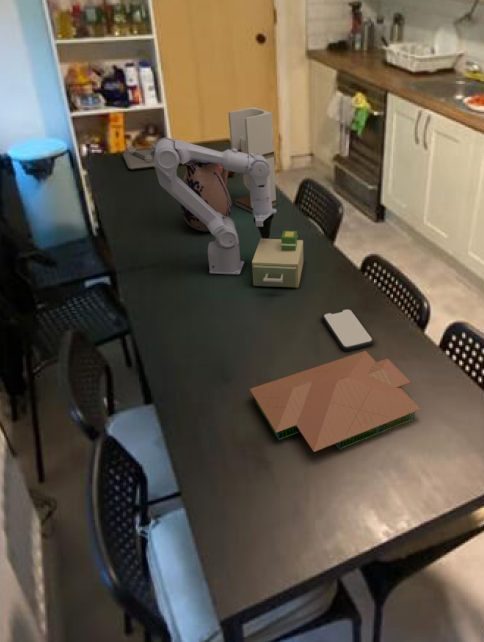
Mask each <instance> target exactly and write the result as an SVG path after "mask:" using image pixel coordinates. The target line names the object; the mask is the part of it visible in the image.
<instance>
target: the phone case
mask: <svg viewBox="0 0 484 642" xmlns="http://www.w3.org/2000/svg"><path fill="white" fill-rule="evenodd" d="M322 321H323V322H324V324H325V326H326V327H327V328H328V330H329V332H330V333H331V335H332V336H333V337H334V339H335V341H336V342H337V344H338V345H339V347H340V348H341V350H342V351H344V352H351V351H355V350H359V349H364V348H367V347H371V346H373V344H374V338H373V336H371V334H370V333H369V331H368V330H367V329H366V327H365V326H364V325H363V323H362V322H361V321H360V320H359V318H358V317H357V315H356V314H355V313H354V312H353V310H352V309H351V308H350V309H349V308H344V309H340V310H336V311H330V312H325V313H323V315H322Z"/></svg>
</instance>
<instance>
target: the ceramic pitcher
mask: <svg viewBox="0 0 484 642" xmlns="http://www.w3.org/2000/svg"><path fill="white" fill-rule="evenodd" d="M185 166H186V169H185V172H184V177H183V179H182V181H183V182H184V183H185V184H186V185H187V186H188V187H190V188H191V189H192V190H193V191H194V192H195V193H196V194H197V195H198V196H199V197H201V198H202V199H203V200H204V201H205V202H206V203H207V204H208V205H209V206H210V207H211V208H213V209H214V210H215V211H216V212H219V213H221V214H222V215H223V216H225V217H229V218H231V214H232V211H233V205H232V199H231V196H230V193H229V190H228V188H227V184H228V170H224V168H223V171H222V176H221V174H220V172H219V169H218V164H216V163H210V162H205V161H199V160H193V159H192V160H190V161H188V162H187V163H186V164H185ZM179 204H180V211H181V215H182V216H183V219H184V221H185V222H186V223H187V224H188V225H189V226H190V227H191V228H193V229H195V230H197V231H200V232H210V230H209V229H208V227H207V226H206V225H205V224H204V223H203V222H201V221H200V220H199V219H198V218H197V217H196V216H195V215H194V214H192V213H191V212H190V211H189V210H188V209H187V208H186V207H184V206H183V205H182V204H181V203H180V202H179Z"/></svg>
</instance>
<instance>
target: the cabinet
mask: <svg viewBox="0 0 484 642" xmlns="http://www.w3.org/2000/svg"><path fill="white" fill-rule="evenodd" d="M281 244H282V241H281V238H280V239H279V238H269V239H263V238H260V239H259V242H258V244H257V246H256V250H255V253H254V255H253V258H252V261H251V268H252V269H251V271H252V285H253V286H254V287H259V286H258V285H255V283H254V268H253V267H254V265H276V266H296V287H295V288H297V289H298V288H299V286H300V282H301V277H302V272H303V266H304V239H297V246H296V251H292V250H282V246H281ZM272 287H275V288H283V287H282V286H272Z"/></svg>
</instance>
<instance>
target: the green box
mask: <svg viewBox="0 0 484 642" xmlns="http://www.w3.org/2000/svg"><path fill="white" fill-rule="evenodd" d="M298 237H299V235H298V230H283V231H282V234H281V238H280V239H281V241H282V244H281V246H282V250H292V251H296V246H297V240H298Z"/></svg>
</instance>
